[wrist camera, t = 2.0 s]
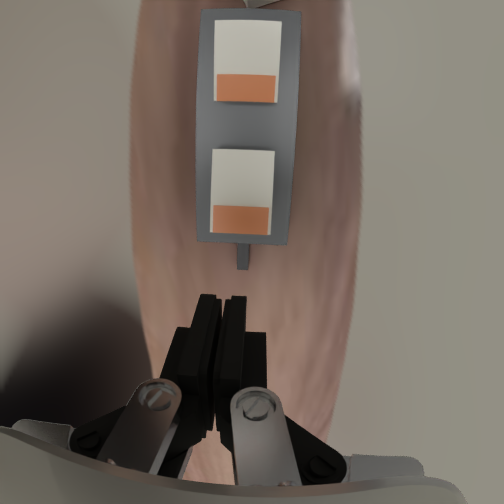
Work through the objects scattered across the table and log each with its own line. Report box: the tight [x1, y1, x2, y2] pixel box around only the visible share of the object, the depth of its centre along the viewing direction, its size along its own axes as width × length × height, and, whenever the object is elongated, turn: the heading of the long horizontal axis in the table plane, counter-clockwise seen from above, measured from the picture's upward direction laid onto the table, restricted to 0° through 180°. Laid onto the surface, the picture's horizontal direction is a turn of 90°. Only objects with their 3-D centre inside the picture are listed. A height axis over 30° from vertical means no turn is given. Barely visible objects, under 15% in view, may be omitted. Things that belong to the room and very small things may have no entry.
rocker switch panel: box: [196, 8, 301, 270], centre depth 22 cm, size 22×7×5 cm, turn 178°
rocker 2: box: [210, 149, 275, 235], centre depth 20 cm, size 6×4×2 cm
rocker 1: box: [214, 20, 282, 103], centre depth 16 cm, size 6×4×2 cm
